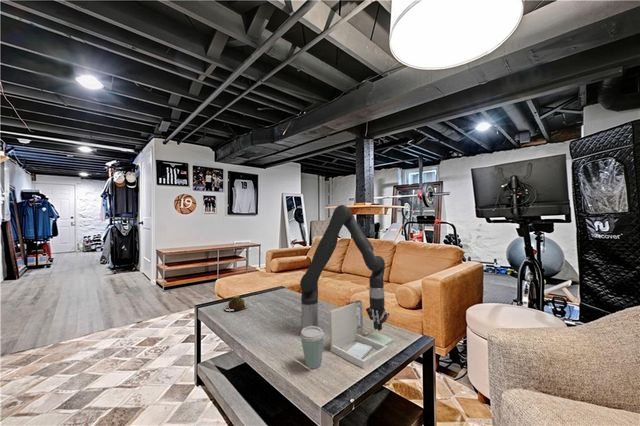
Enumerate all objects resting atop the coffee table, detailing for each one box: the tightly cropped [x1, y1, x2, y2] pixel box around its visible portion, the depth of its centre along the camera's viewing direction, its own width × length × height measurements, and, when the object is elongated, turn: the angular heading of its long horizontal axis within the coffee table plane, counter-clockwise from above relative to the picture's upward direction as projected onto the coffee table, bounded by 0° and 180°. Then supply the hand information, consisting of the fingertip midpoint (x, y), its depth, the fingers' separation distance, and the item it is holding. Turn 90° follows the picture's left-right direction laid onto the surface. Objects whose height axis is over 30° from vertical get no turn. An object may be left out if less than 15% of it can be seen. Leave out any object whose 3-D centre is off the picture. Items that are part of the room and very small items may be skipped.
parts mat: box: [365, 331, 395, 347], centre depth 134 cm, size 10×12×2 cm
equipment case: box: [329, 301, 389, 369], centre depth 124 cm, size 19×20×19 cm
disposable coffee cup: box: [299, 326, 325, 370], centre depth 115 cm, size 11×11×15 cm
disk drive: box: [345, 299, 364, 329], centre depth 151 cm, size 10×3×15 cm, turn 122°
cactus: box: [227, 294, 246, 311], centre depth 189 cm, size 17×16×10 cm
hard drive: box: [347, 342, 373, 359], centre depth 123 cm, size 2×8×12 cm
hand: (377, 329), depth 134 cm, fingers closed
